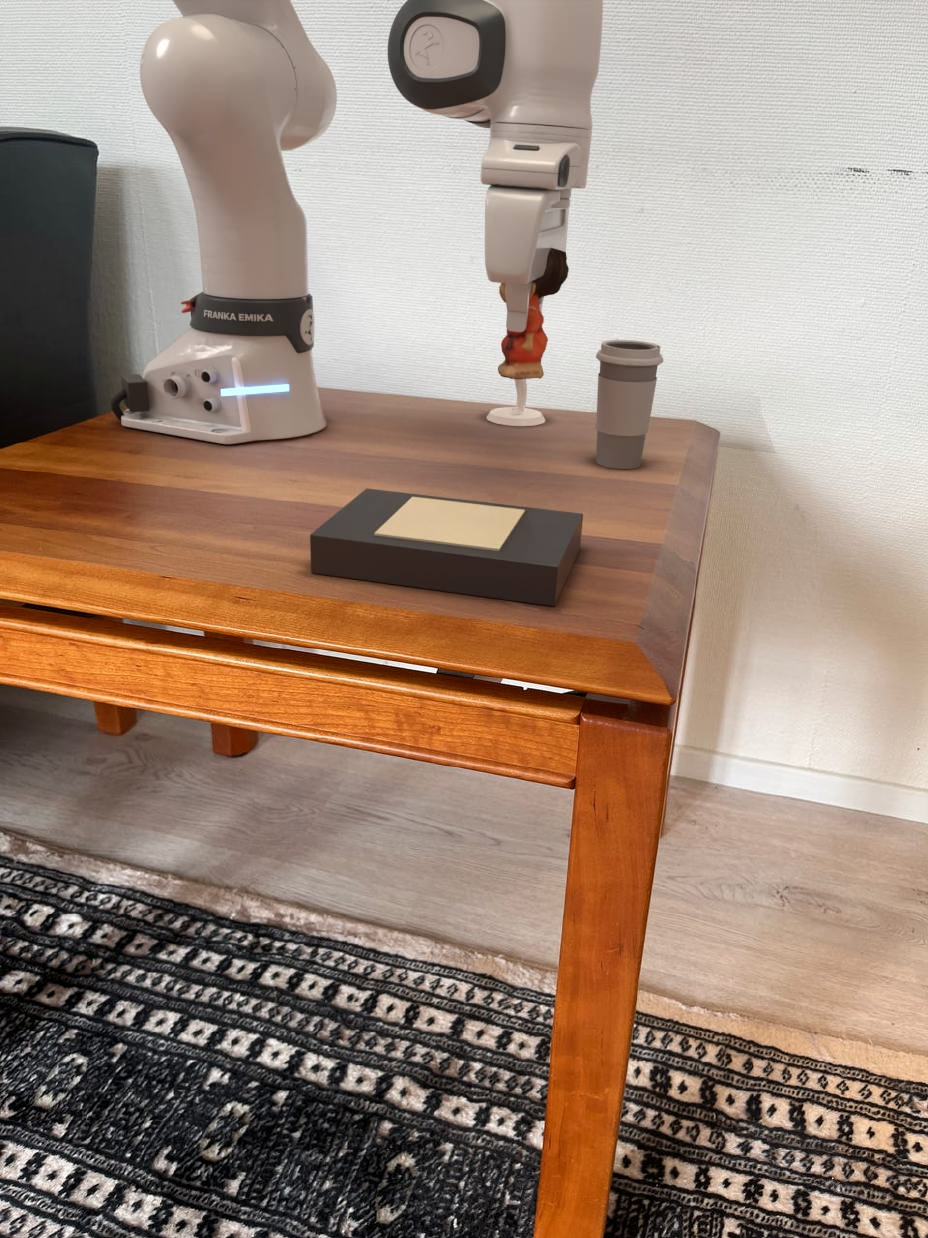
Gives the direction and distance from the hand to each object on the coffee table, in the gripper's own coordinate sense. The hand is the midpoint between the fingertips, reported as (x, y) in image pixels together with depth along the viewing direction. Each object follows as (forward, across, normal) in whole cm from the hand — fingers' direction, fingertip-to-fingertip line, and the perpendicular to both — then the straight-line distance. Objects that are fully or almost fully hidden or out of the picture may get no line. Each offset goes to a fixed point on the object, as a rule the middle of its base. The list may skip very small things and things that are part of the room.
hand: (523, 325), depth 93 cm
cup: (+14, -7, +10) cm, 18 cm away
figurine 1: (+5, 0, 0) cm, 5 cm away
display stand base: (+14, +26, +1) cm, 30 cm away
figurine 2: (+14, -22, -4) cm, 26 cm away
